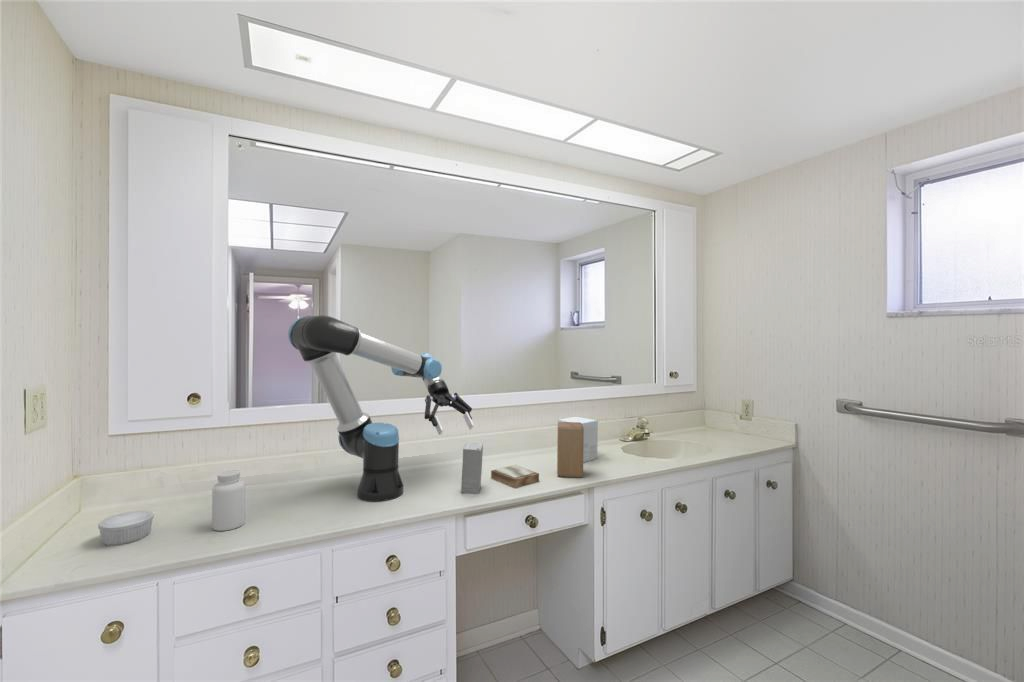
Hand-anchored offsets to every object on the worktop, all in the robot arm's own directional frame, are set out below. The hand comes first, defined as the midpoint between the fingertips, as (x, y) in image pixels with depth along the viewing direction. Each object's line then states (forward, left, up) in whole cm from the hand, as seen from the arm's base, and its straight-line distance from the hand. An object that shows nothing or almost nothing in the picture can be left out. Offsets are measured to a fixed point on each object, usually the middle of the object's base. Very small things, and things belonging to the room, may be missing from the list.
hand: (457, 430), depth 165 cm
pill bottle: (-71, +7, -20) cm, 74 cm away
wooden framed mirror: (+19, -12, -19) cm, 29 cm away
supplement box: (+61, -6, -20) cm, 64 cm away
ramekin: (-93, +15, -20) cm, 97 cm away
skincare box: (0, -11, -20) cm, 22 cm away
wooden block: (+41, -20, -20) cm, 49 cm away
